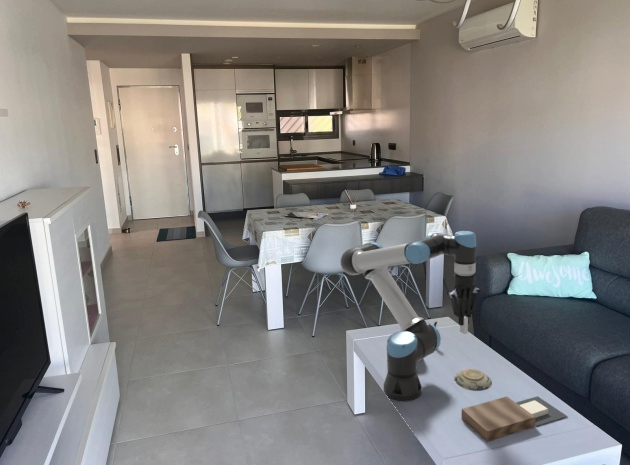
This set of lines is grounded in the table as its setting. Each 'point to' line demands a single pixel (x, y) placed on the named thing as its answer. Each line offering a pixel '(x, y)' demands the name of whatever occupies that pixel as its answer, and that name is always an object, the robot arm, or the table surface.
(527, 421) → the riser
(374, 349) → the table surface
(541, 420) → the mat
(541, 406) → the tile
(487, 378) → the decorative bowl
